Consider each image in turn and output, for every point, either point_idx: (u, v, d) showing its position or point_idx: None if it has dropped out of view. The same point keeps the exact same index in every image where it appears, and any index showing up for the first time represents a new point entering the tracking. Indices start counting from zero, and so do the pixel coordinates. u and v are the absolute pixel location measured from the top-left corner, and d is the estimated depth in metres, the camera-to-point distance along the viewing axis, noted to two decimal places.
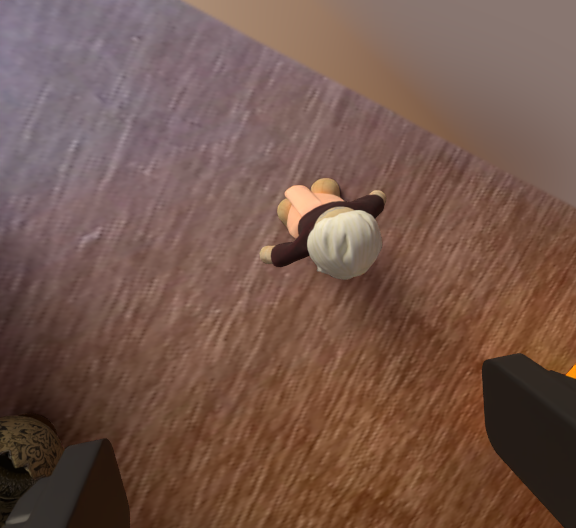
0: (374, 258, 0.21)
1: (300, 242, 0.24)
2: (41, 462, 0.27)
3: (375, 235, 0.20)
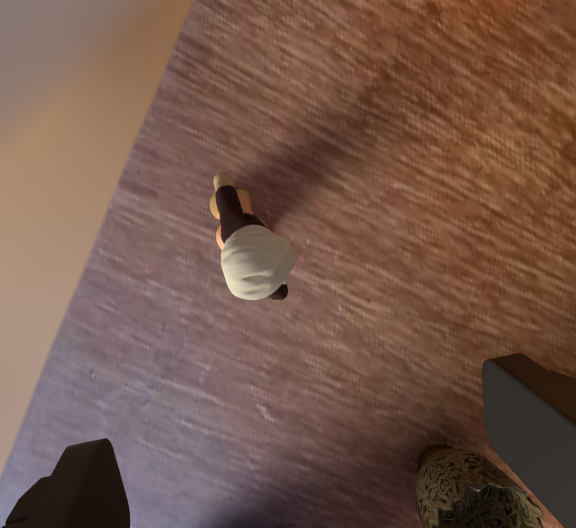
0: (270, 240, 0.20)
1: None
2: (454, 482, 0.31)
3: (245, 245, 0.20)
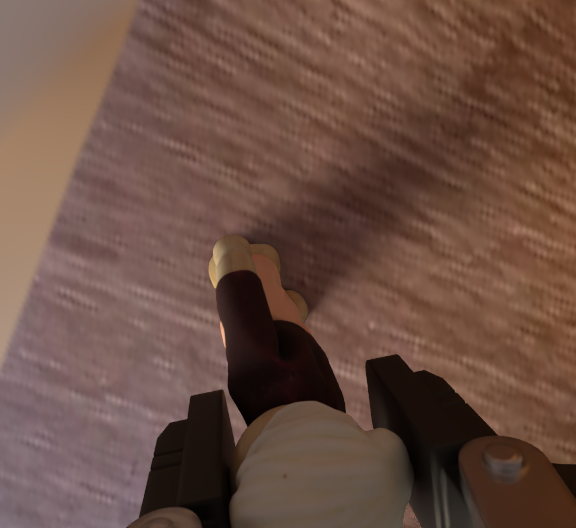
0: (367, 475, 0.07)
1: None
2: None
3: (299, 503, 0.07)
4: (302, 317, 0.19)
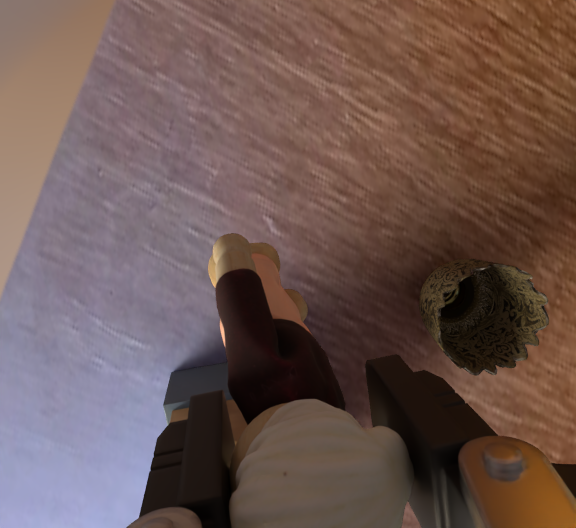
0: (367, 473, 0.07)
1: None
2: (459, 271, 0.31)
3: (299, 501, 0.07)
4: (302, 316, 0.19)
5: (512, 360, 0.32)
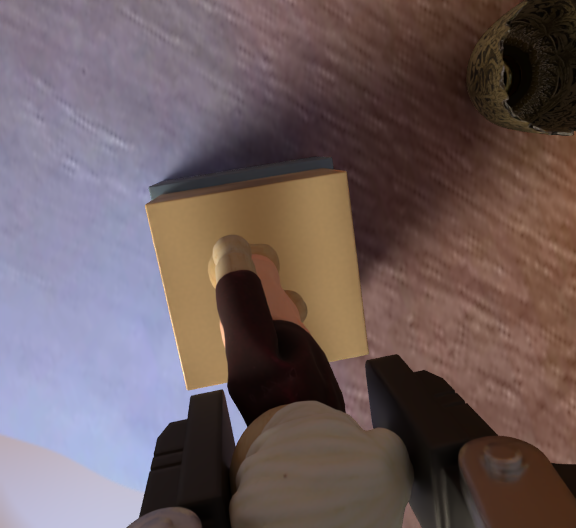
0: (367, 475, 0.07)
1: None
2: None
3: (299, 503, 0.07)
4: (301, 317, 0.19)
5: None
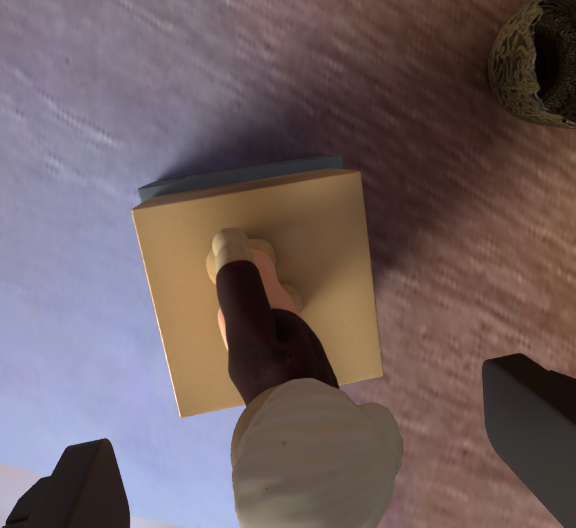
0: (360, 442, 0.08)
1: None
2: None
3: (297, 467, 0.07)
4: (297, 310, 0.19)
5: None
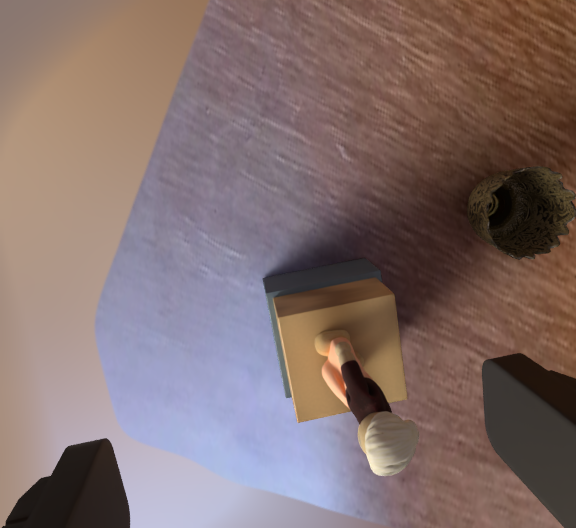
0: (405, 432, 0.25)
1: None
2: (502, 175, 0.39)
3: (387, 440, 0.25)
4: (361, 365, 0.37)
5: (547, 248, 0.39)
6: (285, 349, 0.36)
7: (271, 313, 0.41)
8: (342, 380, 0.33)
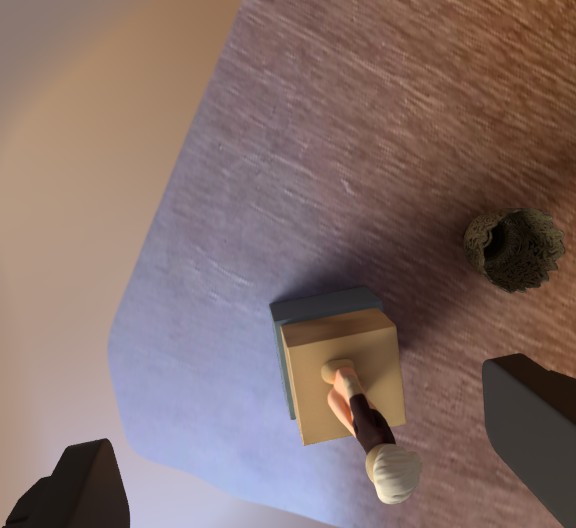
0: (410, 464, 0.27)
1: None
2: (497, 214, 0.41)
3: (394, 472, 0.27)
4: (364, 393, 0.39)
5: (537, 282, 0.42)
6: (293, 377, 0.38)
7: (278, 340, 0.43)
8: (348, 409, 0.35)
